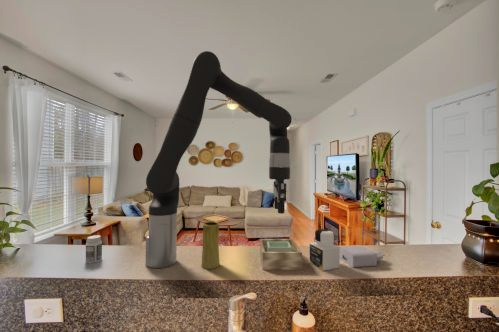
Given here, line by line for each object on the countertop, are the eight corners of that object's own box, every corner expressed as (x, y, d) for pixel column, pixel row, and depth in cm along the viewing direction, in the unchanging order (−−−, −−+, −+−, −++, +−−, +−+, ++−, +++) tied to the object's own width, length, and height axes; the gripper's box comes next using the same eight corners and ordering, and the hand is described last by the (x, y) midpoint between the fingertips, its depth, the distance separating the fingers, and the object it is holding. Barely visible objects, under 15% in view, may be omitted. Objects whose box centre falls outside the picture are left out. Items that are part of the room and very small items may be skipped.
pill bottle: (99, 256, 83) (99, 234, 83) (103, 260, 80) (104, 236, 80) (83, 260, 79) (84, 236, 79) (87, 264, 76) (88, 239, 76)
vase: (215, 270, 72) (216, 226, 73) (198, 268, 74) (198, 224, 74) (221, 262, 78) (222, 221, 79) (205, 261, 80) (206, 220, 80)
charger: (392, 266, 77) (352, 268, 75) (373, 255, 86) (337, 258, 84) (392, 252, 77) (352, 254, 75) (373, 243, 86) (337, 245, 84)
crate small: (268, 261, 77) (268, 247, 77) (266, 255, 84) (267, 241, 84) (291, 261, 77) (291, 247, 78) (288, 255, 84) (288, 241, 84)
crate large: (262, 269, 73) (262, 252, 73) (259, 252, 88) (259, 238, 88) (302, 269, 73) (302, 252, 73) (292, 253, 88) (292, 239, 88)
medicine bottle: (309, 262, 79) (309, 228, 79) (325, 260, 81) (325, 227, 82) (322, 271, 72) (322, 234, 72) (340, 268, 75) (340, 232, 75)
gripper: (267, 166, 88) (266, 207, 88) (271, 165, 74) (271, 214, 74) (286, 166, 88) (285, 207, 88) (294, 166, 74) (293, 215, 74)
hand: (279, 210), depth 81 cm, fingers open, 8 cm apart
